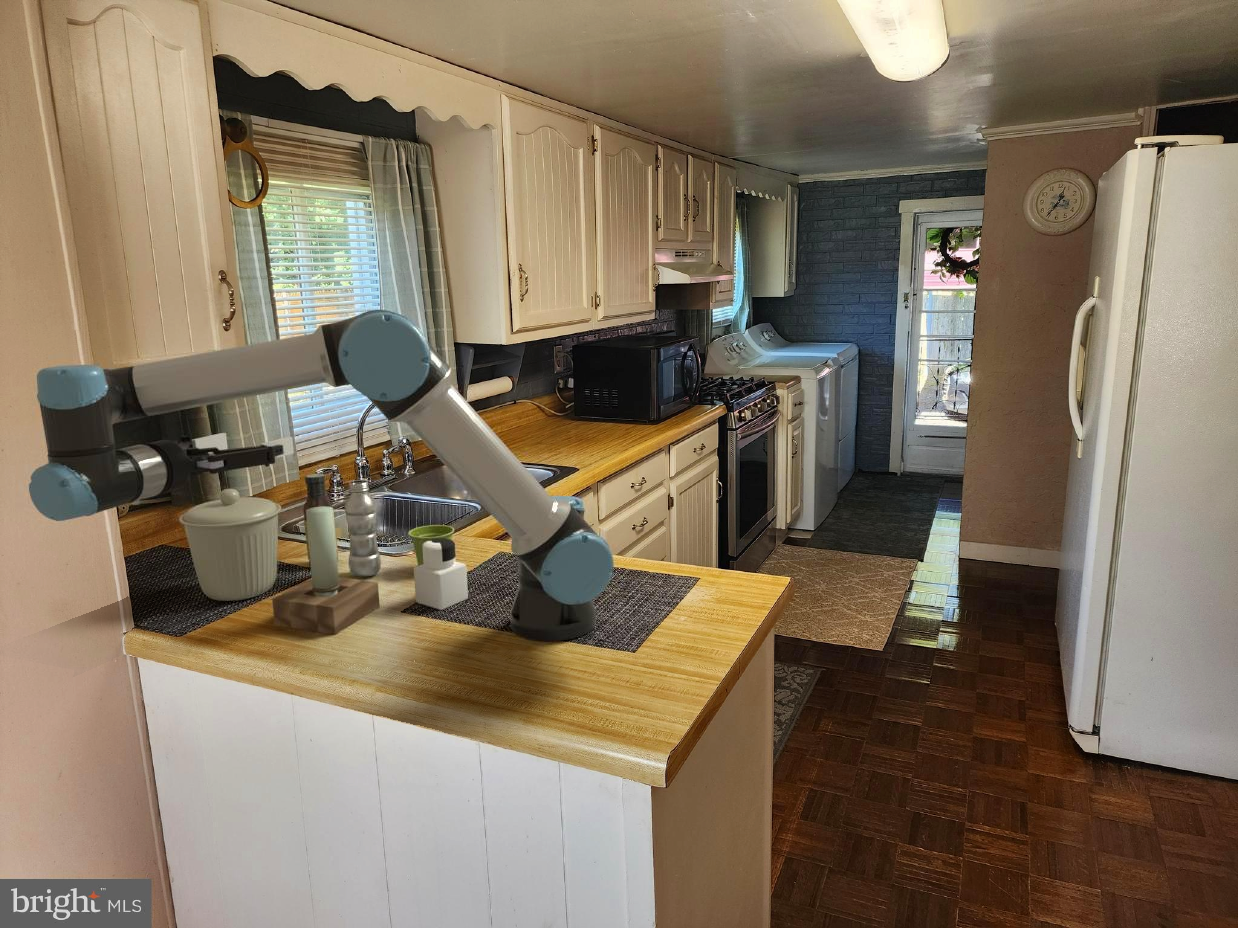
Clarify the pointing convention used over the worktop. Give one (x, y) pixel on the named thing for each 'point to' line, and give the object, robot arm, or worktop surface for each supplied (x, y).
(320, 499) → the sauce bottle
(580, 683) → the worktop surface
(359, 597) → the wooden holder block
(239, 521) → the canister
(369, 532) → the plastic bottle
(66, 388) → the robot arm
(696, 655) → the worktop surface
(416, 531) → the plant pot
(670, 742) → the worktop surface
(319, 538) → the stool leg
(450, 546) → the medicine bottle
